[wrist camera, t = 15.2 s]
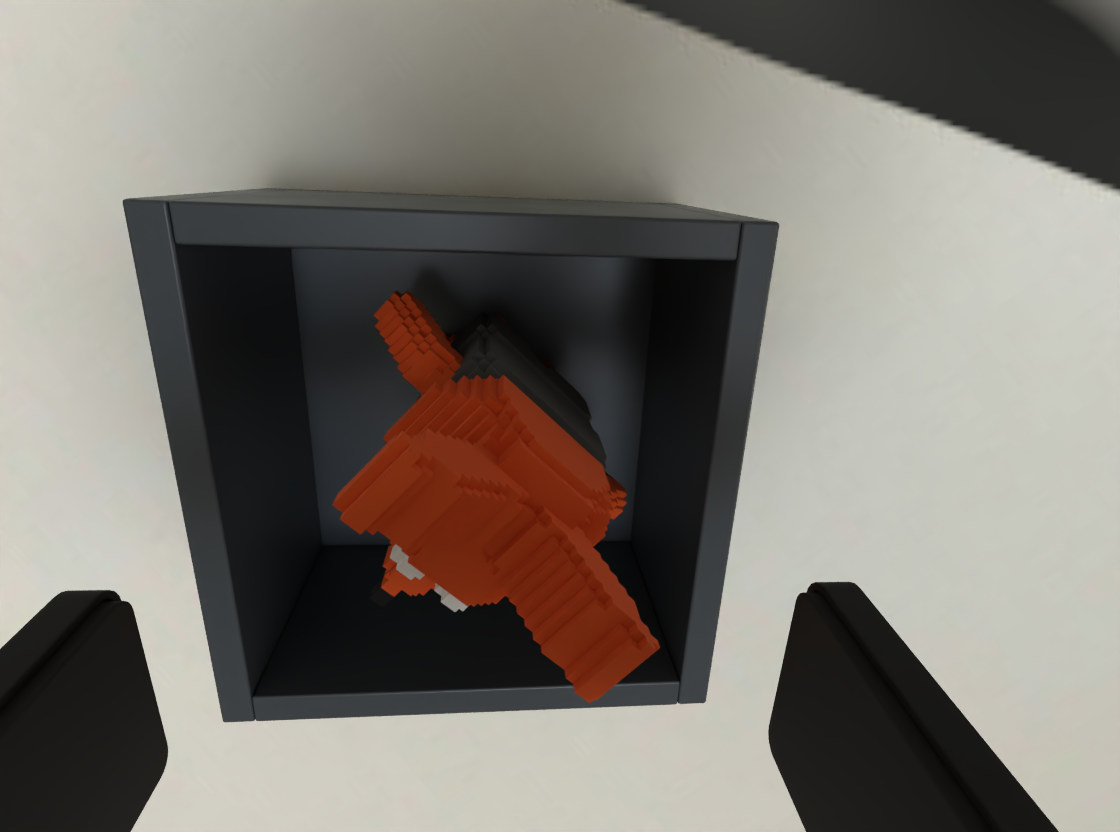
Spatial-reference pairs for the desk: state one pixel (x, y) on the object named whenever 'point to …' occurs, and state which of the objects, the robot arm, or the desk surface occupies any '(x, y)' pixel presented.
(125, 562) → the desk surface
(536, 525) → the toy animal
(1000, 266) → the desk surface
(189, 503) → the bin
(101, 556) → the desk surface
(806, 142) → the desk surface
